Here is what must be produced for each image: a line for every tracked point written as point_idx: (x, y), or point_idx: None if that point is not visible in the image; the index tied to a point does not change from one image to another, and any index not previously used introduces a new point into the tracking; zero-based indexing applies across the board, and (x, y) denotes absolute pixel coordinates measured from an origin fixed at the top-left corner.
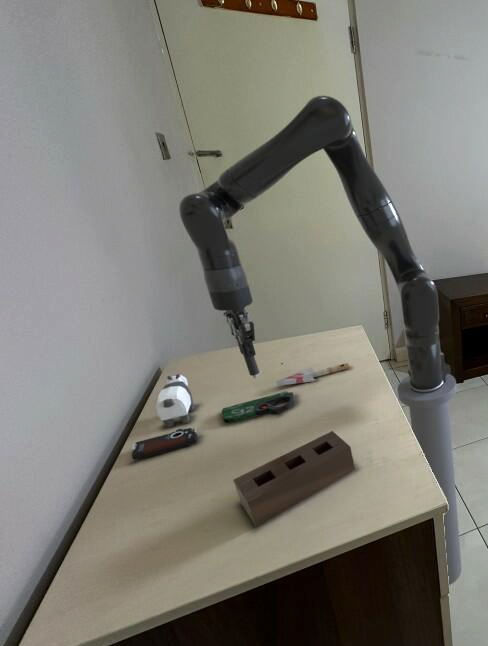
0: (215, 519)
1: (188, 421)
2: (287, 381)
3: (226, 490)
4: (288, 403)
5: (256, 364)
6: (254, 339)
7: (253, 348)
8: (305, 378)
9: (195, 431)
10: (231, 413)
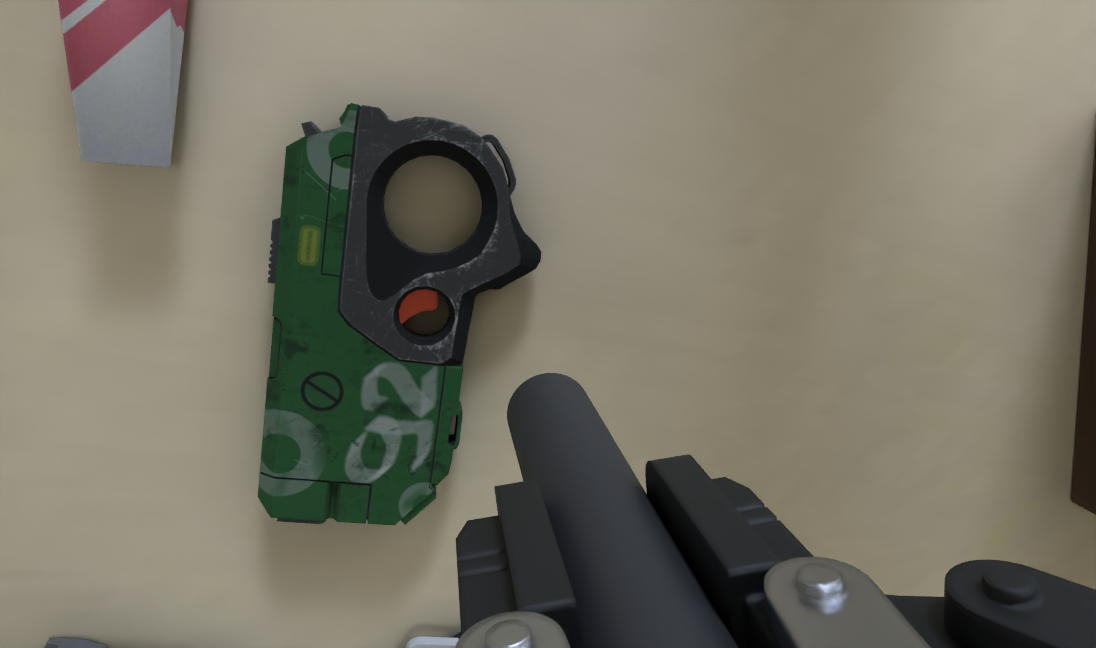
0: (1070, 577)
1: None
2: (156, 85)
3: (956, 538)
4: (499, 172)
5: (586, 411)
6: (1051, 582)
7: (725, 503)
8: None
9: (442, 644)
10: (378, 482)
